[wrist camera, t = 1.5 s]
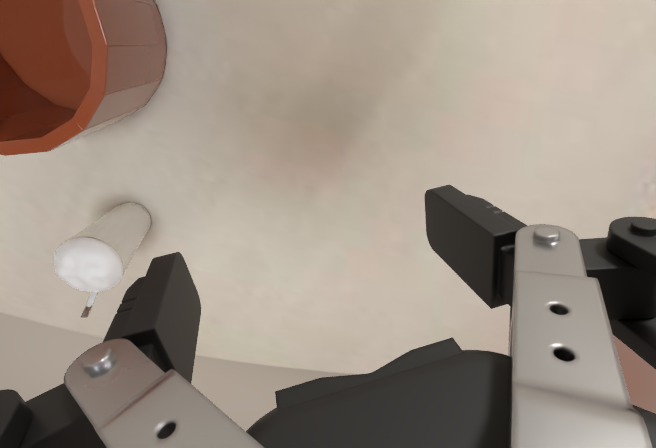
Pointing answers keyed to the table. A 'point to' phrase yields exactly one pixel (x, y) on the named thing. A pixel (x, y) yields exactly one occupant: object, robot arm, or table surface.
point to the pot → (74, 68)
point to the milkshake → (102, 251)
